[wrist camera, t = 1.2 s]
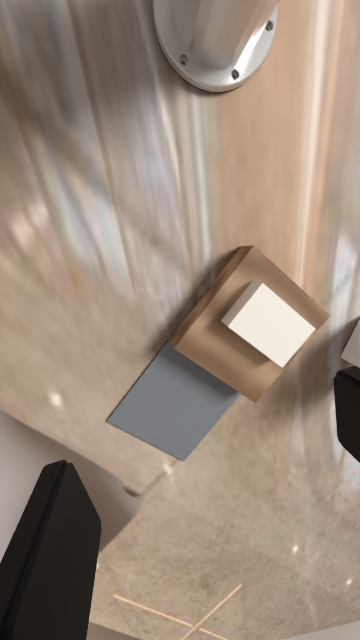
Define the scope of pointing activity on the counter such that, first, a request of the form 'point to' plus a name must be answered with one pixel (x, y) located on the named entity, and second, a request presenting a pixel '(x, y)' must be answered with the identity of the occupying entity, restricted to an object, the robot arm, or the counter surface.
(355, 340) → the milk carton
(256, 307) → the cream rectangular block
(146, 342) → the counter surface
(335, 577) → the counter surface
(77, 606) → the robot arm
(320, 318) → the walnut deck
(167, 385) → the rubber mat
